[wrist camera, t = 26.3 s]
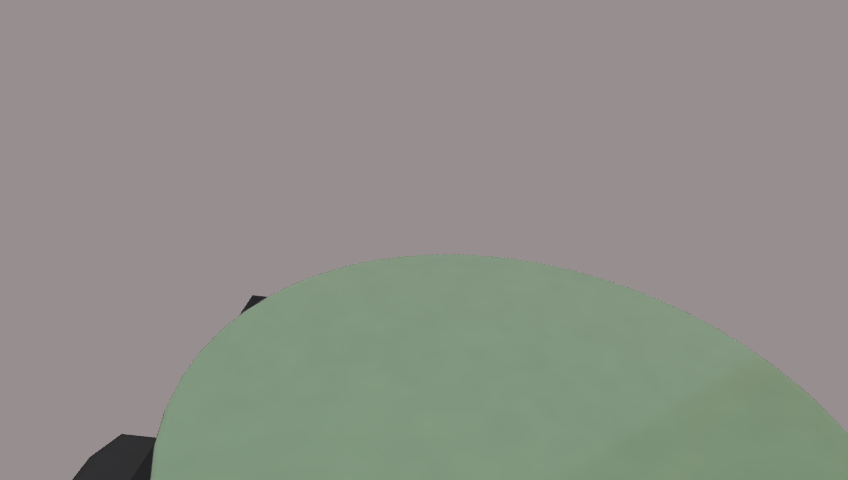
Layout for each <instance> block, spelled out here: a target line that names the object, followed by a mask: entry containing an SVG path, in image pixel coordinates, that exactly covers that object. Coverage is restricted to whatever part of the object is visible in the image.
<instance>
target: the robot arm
mask: <svg viewBox="0 0 848 480" xmlns="http://www.w3.org/2000/svg"><path fill="white" fill-rule="evenodd" d="M265 298H267V297H263V296H252V297H251V299H250V300H249V302H248V303H247V305H246V306H245V308H244V309H243V311H242V312H241V314H242V313H243V312H245V311H246V310H248V309H249V308H251V307H253V306H254V305H256V304H257V303H259V302H260V301H262V300H264V299H265ZM241 314H240V315H241ZM155 441H156V438H152V437H144V436H134V435H125V434H121V435H120V436H118V437H117V438H116V439H114V440H113V441H112V442H110V443H109V444H107V445H106V446H105V447H103V448H102V449H101V450H99V451H98V452H96V453H95V454H94V455H92V456H91V457H90V458H89V459H88V460H87V462H86V463H85V464H84V465H83V467H82V468H81V469H80V471H79V472H78V473H77V474H76V476H75V477H74V479H73V480H150V473H151V465H152V456H153V448H154V444H155Z"/></svg>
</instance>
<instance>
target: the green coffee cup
mask: <svg viewBox="0 0 848 480" xmlns="http://www.w3.org/2000/svg"><path fill="white" fill-rule="evenodd" d="M150 480H848V433H847V432H846V431H845V430H844V429H843V428H842V427H841V425H840V424H839V423H838V422H837V421H836V420H835V419H834V418H833V417H832V416H831V415H830V414H829V413H828V412H827V411H826V410H825V409H824V408H823V407H822V406H821V405H820V404H819V403H818V402H817V401H815V400H814V399H813V398H812V397H811V396H810V395H809V394H808V393H807V392H806V391H804V390H803V389H802V388H801V387H800V386H798V385H797V384H796V383H795V382H794V381H792V380H791V379H790V378H789V377H788V376H786V375H785V374H784V373H783V372H781V371H780V370H779V369H777V368H776V367H775V366H773V365H772V364H771V363H769V362H768V361H766V360H765V359H764V358H762V357H761V356H759V355H758V354H757V353H755V352H754V351H752V350H751V349H749V348H748V347H746V346H745V345H743V344H742V343H740V342H738V341H737V340H735V339H733V338H732V337H730V336H728V335H727V334H725V333H724V332H722V331H720V330H719V329H717V328H715V327H713V326H711V325H710V324H708V323H706V322H704V321H702V320H700V319H698V318H696V317H694V316H692V315H691V314H689V313H687V312H684V311H682V310H680V309H678V308H676V307H674V306H672V305H669V304H667V303H665V302H663V301H661V300H658V299H656V298H654V297H651V296H649V295H646V294H643V293H641V292H638V291H636V290H633V289H630V288H628V287H625V286H622V285H619V284H616V283H613V282H610V281H607V280H604V279H601V278H598V277H594V276H591V275H587V274H584V273H580V272H576V271H573V270H569V269H564V268H559V267H554V266H550V265H545V264H541V263H535V262H528V261H522V260H516V259H509V258H499V257H489V256H475V255H419V256H407V257H406V256H405V257H397V258H388V259H381V260H374V261H369V262H364V263H359V264H355V265H350V266H346V267H342V268H339V269H335V270H332V271H328V272H325V273H322V274H319V275H316V276H313V277H311V278H308V279H305V280H303V281H300V282H298V283H295V284H293V285H291V286H289V287H287V288H285V289H283V290H281V291H279V292H277V293H275V294H273V295H270V296H268V297H267V298H265V299H264V300H262V301H260V302H259V303H257V304H256V305H254V306H253V307H251V308H249V309H248V310H246V311H245V312H243V313H242V314H241V315H239V316H238V317H237V318H236V319H234V320H233V321H232V322H231V323H229V324H228V325H227V326H226V327H224V328H223V329H222V330H221V331H220V332H219V333H218V334H217V335H216V336H215V337H214V338H213V339H212V340H211V341H210V342H209V343H208V344H207V345H206V346H205V347H204V348H203V349H202V350H201V351H200V353H199V354H198V355H197V357H196V358H195V360H194V361H193V362H192V364H191V365H190V366H189V368H188V369H187V371H186V372H185V373H184V375H183V376H182V378H181V379H180V381H179V383H178V385H177V387H176V389H175V391H174V393H173V395H172V397H171V399H170V402H169V403H168V405H167V407H166V409H165V411H164V414H163V418H162V421H161V425H160V428H159V431H158V434H157V438H156V441H155V444H154V448H153V456H152V465H151V473H150Z"/></svg>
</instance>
